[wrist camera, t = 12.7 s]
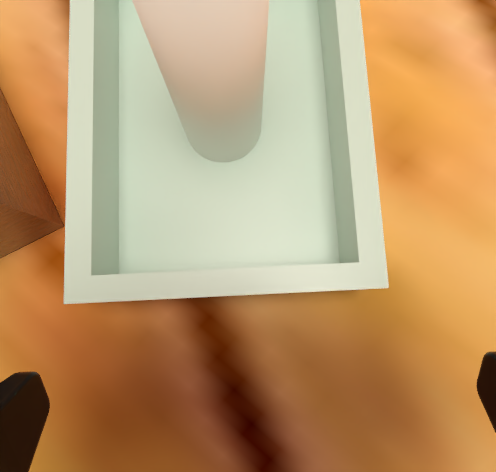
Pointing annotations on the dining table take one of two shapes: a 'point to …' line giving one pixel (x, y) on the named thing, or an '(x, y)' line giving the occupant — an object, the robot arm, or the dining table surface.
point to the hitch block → (21, 190)
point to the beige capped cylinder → (212, 68)
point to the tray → (220, 168)
